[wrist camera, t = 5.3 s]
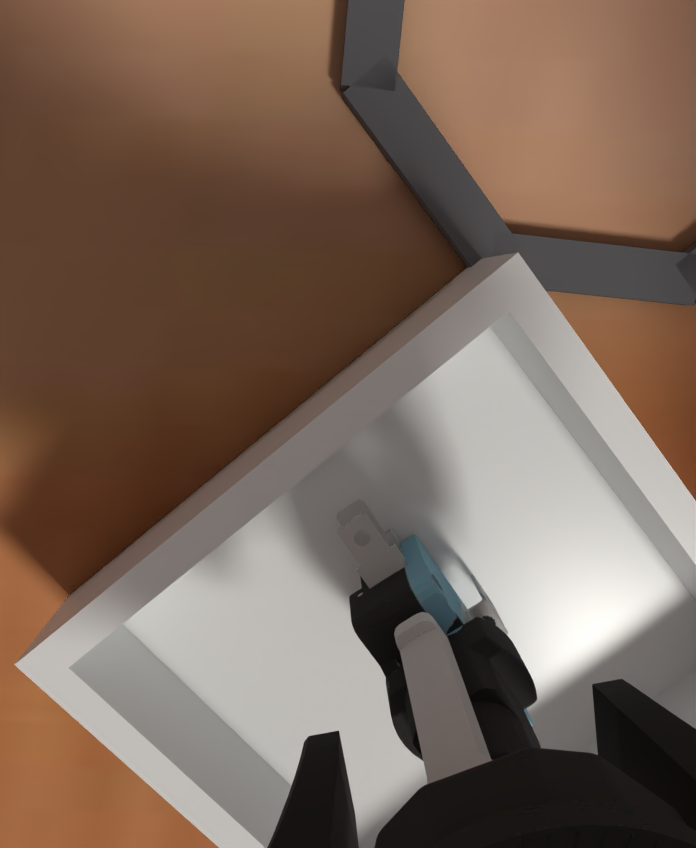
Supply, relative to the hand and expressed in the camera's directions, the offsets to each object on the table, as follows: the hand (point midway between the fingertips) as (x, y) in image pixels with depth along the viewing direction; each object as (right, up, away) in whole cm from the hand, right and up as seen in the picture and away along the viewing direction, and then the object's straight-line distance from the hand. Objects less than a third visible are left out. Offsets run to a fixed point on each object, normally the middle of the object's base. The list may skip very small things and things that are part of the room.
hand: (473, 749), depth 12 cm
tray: (0, +1, +5) cm, 5 cm away
